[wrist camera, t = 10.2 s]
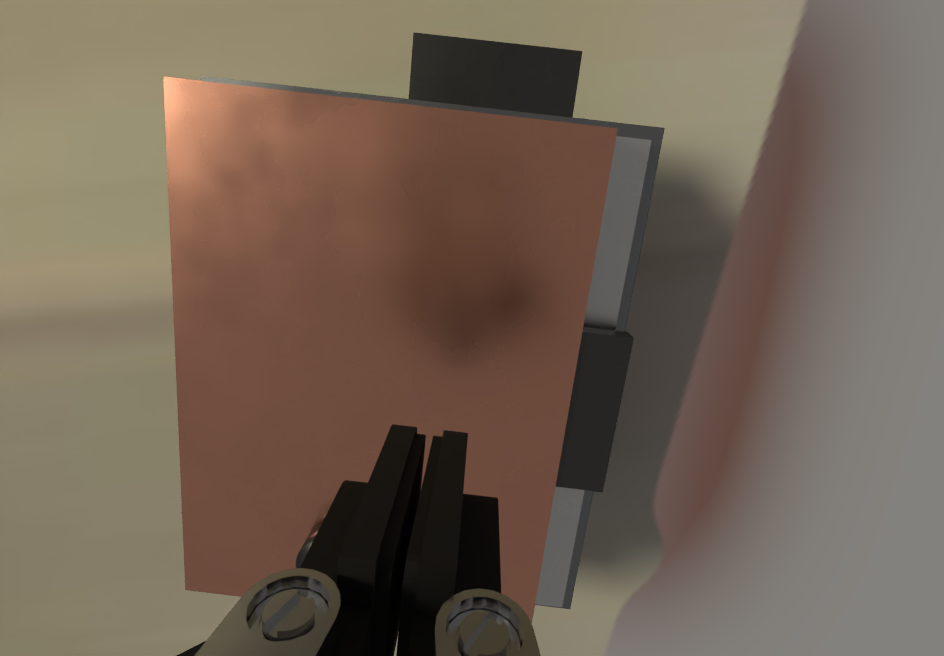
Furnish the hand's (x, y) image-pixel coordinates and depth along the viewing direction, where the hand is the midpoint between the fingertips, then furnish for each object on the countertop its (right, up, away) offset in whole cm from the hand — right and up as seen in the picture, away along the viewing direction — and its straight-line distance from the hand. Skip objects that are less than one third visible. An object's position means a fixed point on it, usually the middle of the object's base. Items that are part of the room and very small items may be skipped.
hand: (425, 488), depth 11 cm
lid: (-2, +2, +8) cm, 9 cm away
